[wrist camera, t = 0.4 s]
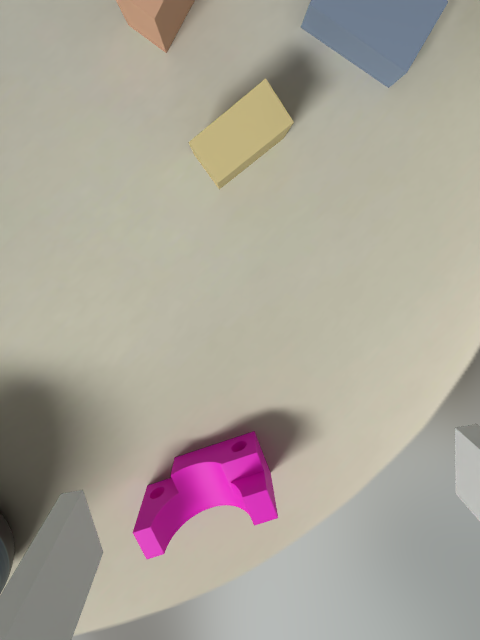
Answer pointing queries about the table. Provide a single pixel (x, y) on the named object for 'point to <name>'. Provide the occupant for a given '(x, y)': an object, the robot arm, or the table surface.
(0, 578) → the vase
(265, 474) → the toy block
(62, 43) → the table surface
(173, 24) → the brick terracotta
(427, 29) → the brick slate
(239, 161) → the brick ochre
